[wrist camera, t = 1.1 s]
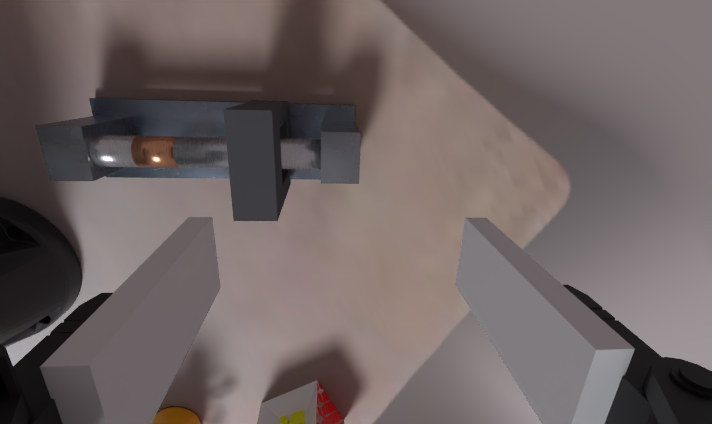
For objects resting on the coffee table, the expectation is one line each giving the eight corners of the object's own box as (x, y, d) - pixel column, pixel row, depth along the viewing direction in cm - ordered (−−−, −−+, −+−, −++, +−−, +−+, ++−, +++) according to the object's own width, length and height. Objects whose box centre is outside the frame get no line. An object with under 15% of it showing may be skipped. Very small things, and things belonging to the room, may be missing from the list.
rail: (111, 174, 34) (56, 199, 27) (94, 97, 31) (29, 103, 25) (352, 177, 36) (358, 201, 29) (354, 104, 33) (361, 112, 26)
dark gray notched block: (258, 183, 34) (233, 220, 25) (252, 100, 31) (223, 109, 22) (290, 183, 34) (277, 220, 25) (287, 101, 31) (271, 110, 22)
